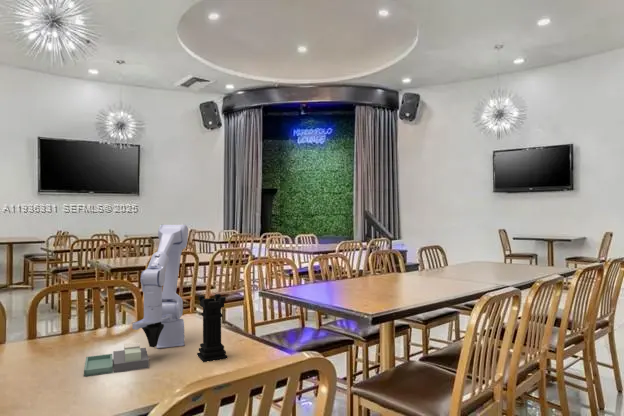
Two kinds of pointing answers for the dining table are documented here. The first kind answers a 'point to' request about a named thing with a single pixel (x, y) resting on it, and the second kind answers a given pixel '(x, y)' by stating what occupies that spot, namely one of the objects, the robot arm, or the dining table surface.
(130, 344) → the cream tile
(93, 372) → the tray
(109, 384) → the dining table surface
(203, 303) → the chess piece
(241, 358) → the dining table surface
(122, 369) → the charcoal board
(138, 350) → the sage tile
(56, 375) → the dining table surface
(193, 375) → the dining table surface
